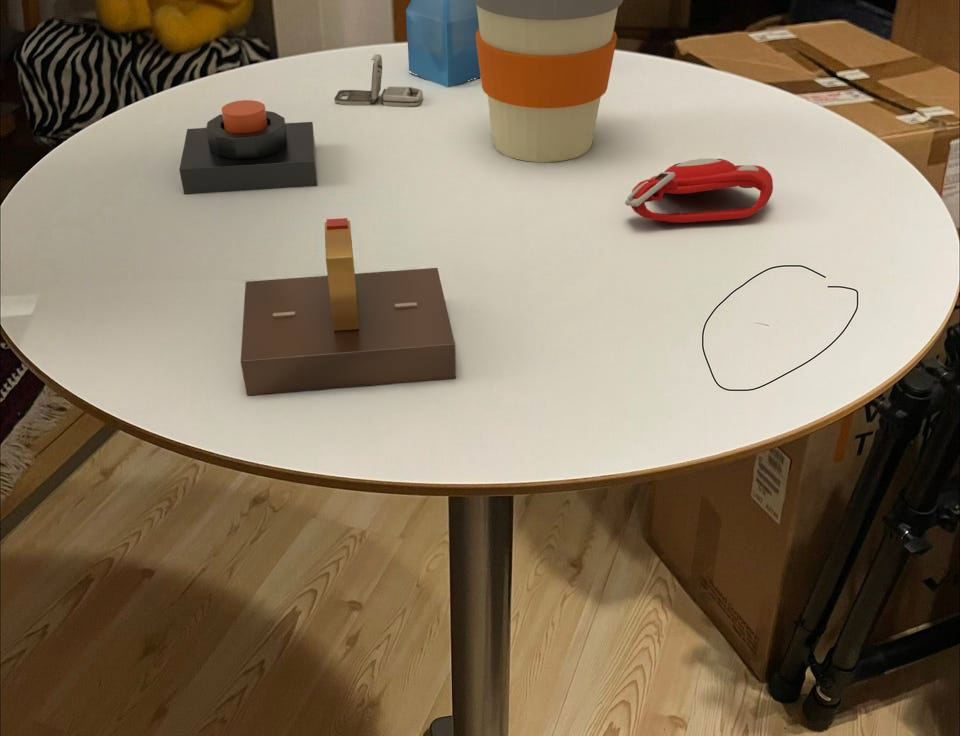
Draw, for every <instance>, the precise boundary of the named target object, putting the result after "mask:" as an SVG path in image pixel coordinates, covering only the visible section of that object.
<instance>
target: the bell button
mask: <svg viewBox="0 0 960 736" xmlns="http://www.w3.org/2000/svg"><path fill="white" fill-rule="evenodd" d="M220 110H221V114H222V116H223V122H224V128H225V131H227V132H233V133H252V132H256V131H259V130H263V129H264V128H266V127H267V126H268V125H267V117H266V111H267V110H266V105H265V104H264V103H263V102H261V101H258V100H254V99H253V100H252V99H244V100H242V99H241V100H235V101H231V102H229V103H226V104H224V105H223V106H222V107H221V109H220Z"/></svg>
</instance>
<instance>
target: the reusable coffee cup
mask: <svg viewBox="0 0 960 736" xmlns="http://www.w3.org/2000/svg"><path fill="white" fill-rule="evenodd" d="M473 2H474V4H476V5H477V13H478V21H479V30H478V31H477V32H476V44H477V52H478V60H479V68H480V76H481V78H480V84H481V88H482V91H483V93H485V94H486V95H487V101H488V102H487V103H488V110H489V118H490V126H491V135H492V142H493V146H494V148H495V149H496V150H497V151H498V152H499V153H501V154H503V156H506V157H509V158H512V159H516V160H518V161H519V160H521V161H525V162H533V163H535V162H536V163H554V162H555V163H556V162H561V161H562V162H563V161H568V160H571V159H575V158H578V157H581V156H582V155H584V154H586V153H588V152H589V150H590V149H591V147H592V145H593V139H594V133H595V128H596V123H597V118H598V113H599V107H600V104H601V103H600V102H601V97H602V96H604V95H605V94H606V92H607V90H608V86H609V81H610V76H611V70H612V66H613V60H614V55H615V50H616V47H617V40H618V35H617V33H616V31H615V25H616V20H617V14H618V8H619V7H620V6H621V5H622V4H623V2H624V0H473Z"/></svg>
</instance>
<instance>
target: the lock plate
mask: <svg viewBox="0 0 960 736" xmlns="http://www.w3.org/2000/svg"><path fill="white" fill-rule="evenodd" d="M355 281H356V292H357V304H358V317H359V329H355V330H341V331H334V329H333V320H332V311H331V302H330V293H329V284H328V275H318V276H316V275H315V276H304V277H289V278H275V279H274V278H273V279H261V280H260V279H259V280H248V281H245V282H244V283H245V285H244V301H243V302H244V303H243V316H242V334H241V349H240V366H241V372H242V376H243V382H244V388H245V394H246V396H254V395H255V396H256V395H267V394H269V395H270V394H279V393H291V392H303V391H314V390H315V391H316V390H328V389H340V388H341V389H342V388H351V387H363V386H364V387H365V386H374V385H375V386H376V385H386V384H398V383H399V384H400V383H413V382H422V381H423V382H424V381H437V380H447V379H456V378H457V360H456V359H457V357H456V342H455V337H454V333H453V329H452V325H451V320H450V316H449V315H450V314H449V311H448V307H447V303H446V299H445V298H446V297H445V294H444V290H443V286H442V282H441V278H440V273H439V269H438V267H428V268H415V269H414V268H413V269H401V270H400V269H399V270H387V271H373V272H358V273H355Z"/></svg>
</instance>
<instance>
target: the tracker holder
mask: <svg viewBox="0 0 960 736" xmlns="http://www.w3.org/2000/svg"><path fill="white" fill-rule="evenodd" d="M736 187H738V188H742V189H752V188H755V189H756V190H757V191H760V192H759V193H760V194H759V197H758V199H757V200H756V202H755V204H754V205H751V206H748V207H740V208H739V207H738V208H727V209H713V210H712V209H711V210H699V211H684V212H671V213H660V212H653V211H651V210H649V209H648V208H647V205H646V203H648V202H649V203H650V202H655V201H660V200H661V199H663V197H664V194H673V195H682V194H683V195H684V194H692V193H693V194H694V193H701V192H707V191H715V190H721V189H729V188H736ZM773 190H774V181H773V177H772V174H771V173H770V171H768V170H767V169H766V167H764V166H761V165H757V164H756V165H755V164H754V165H753V164H740V165H738V164H737V165H735V164H734V163H733V162H731V161H729V160H726V159H722V158H697V159H690V160H687V161H683V162H679V163H675V164H673V165H671V166H669V167H668V168H667V169H665V170H664V171H661V172H660V173H659V174H657V175H654V176H651V177H650V178H649V179H645V180H642V181H640V182H638V183H637V184H636V185H635V186H634V187H633V188H632V190H631V192H630V194H629V195H628V197H627V198H626V200H625V201H624V204H625V205H626V206H629V207H631V209H632V210H633V212H634V213H636V214H637V215H638V216H640V217H642V218H644V219H648V220H652V221H658V222H659V221H660V222H665V223H666V222H667V223H697V222H710V221H712V222H713V221H727V220H740V219H745V218H748V217H750V216H753V215H754V214H755V213H757V212H758V211H760V210H761V209H763V208H764V207H765V206H766V205H767V204H768V202H769V201H770V199H771V197H772V194H773Z"/></svg>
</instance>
